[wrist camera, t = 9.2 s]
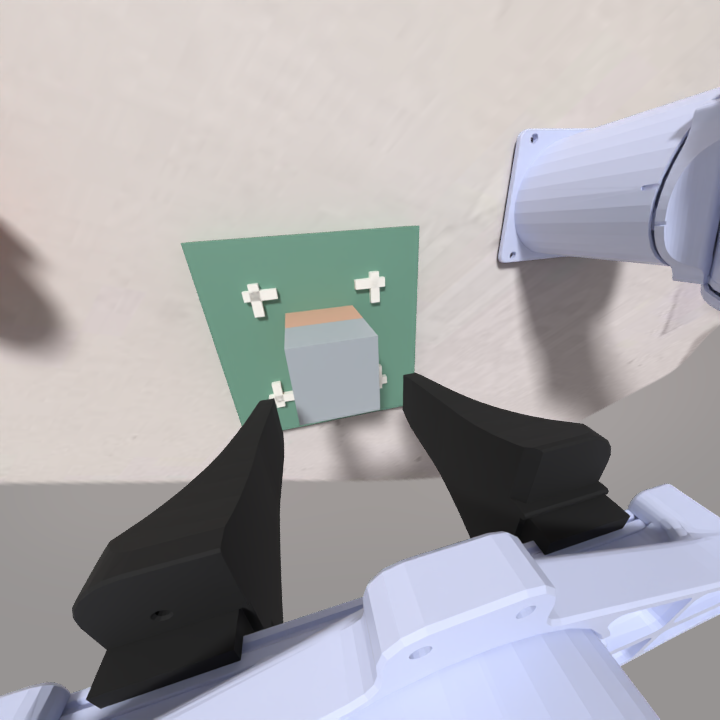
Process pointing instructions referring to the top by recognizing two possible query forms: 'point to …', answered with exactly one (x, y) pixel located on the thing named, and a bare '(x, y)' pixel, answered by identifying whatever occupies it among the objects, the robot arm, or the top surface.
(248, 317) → the base plate
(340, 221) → the top surface
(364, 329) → the brick stack
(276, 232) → the top surface
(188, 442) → the top surface
